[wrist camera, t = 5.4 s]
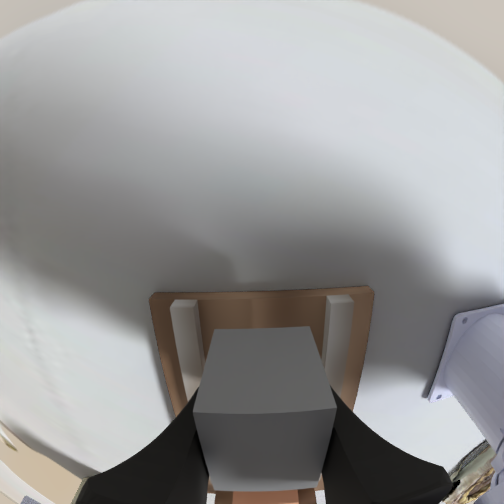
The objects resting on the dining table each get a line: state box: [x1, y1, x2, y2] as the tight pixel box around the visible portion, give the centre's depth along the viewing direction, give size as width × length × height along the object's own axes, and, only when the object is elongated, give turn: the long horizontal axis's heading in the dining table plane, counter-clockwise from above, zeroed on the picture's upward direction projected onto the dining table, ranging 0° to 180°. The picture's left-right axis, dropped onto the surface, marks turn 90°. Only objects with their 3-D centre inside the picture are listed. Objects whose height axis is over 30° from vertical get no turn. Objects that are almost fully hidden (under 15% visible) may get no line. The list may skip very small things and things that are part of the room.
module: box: [193, 326, 337, 492], centre depth 10 cm, size 4×5×5 cm
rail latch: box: [232, 489, 299, 504], centre depth 17 cm, size 5×2×3 cm, turn 92°
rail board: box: [149, 286, 374, 504], centre depth 16 cm, size 12×21×5 cm, turn 2°
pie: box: [442, 442, 497, 504], centre depth 21 cm, size 28×27×5 cm
